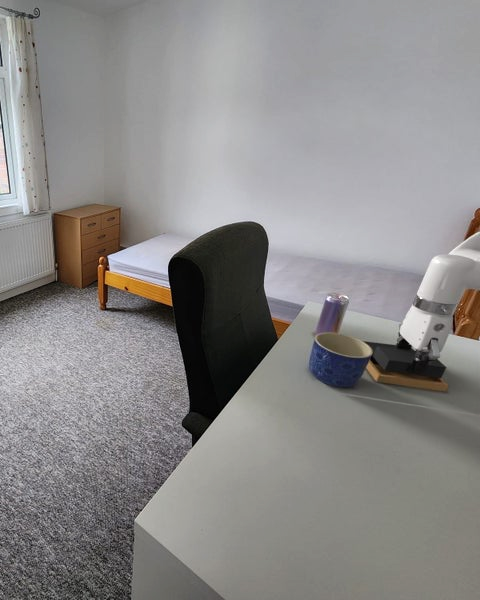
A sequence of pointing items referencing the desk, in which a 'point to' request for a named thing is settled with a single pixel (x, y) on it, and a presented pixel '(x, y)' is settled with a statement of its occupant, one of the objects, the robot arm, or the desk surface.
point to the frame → (406, 378)
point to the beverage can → (332, 313)
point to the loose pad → (405, 361)
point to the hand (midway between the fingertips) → (406, 363)
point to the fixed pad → (374, 346)
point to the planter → (338, 359)
